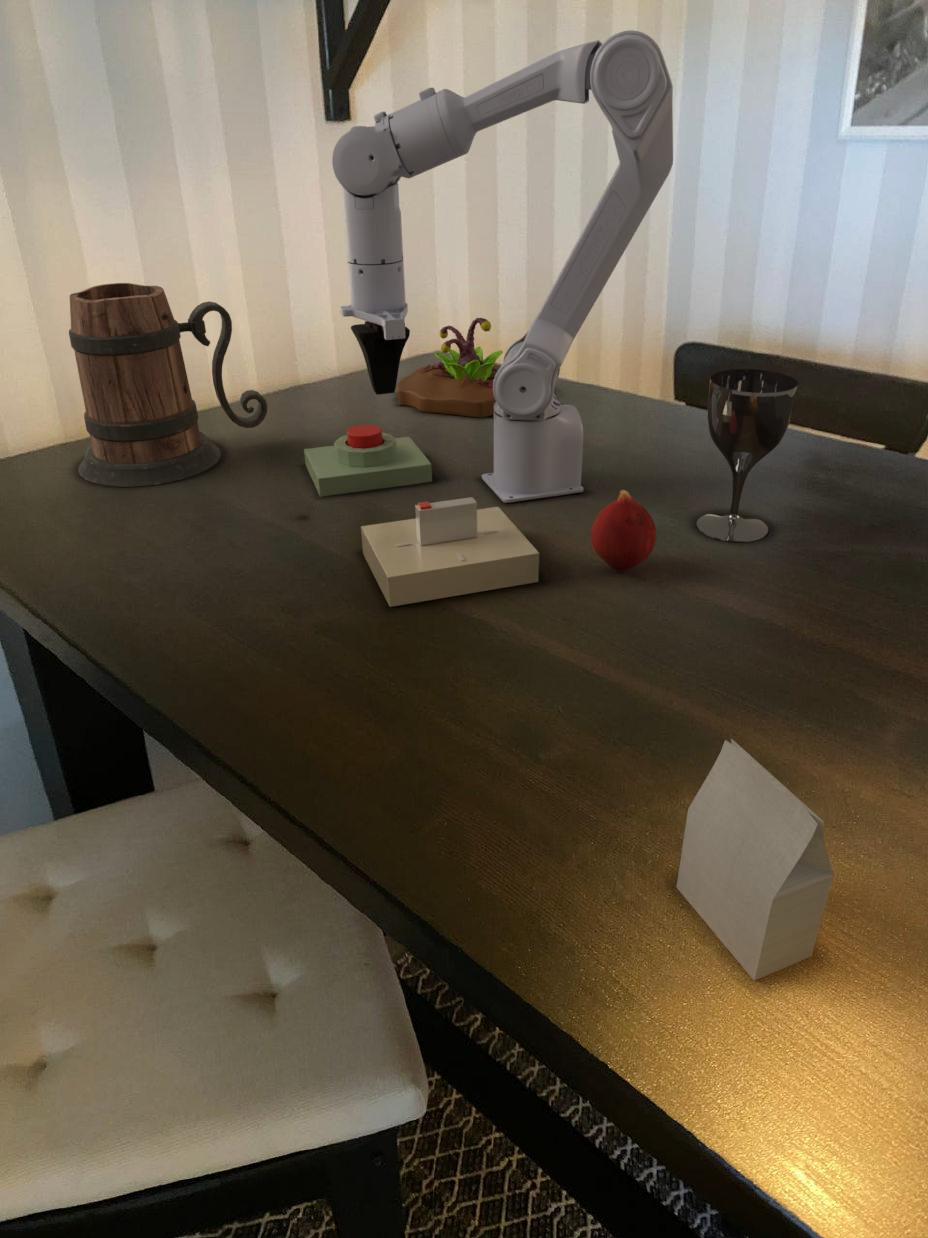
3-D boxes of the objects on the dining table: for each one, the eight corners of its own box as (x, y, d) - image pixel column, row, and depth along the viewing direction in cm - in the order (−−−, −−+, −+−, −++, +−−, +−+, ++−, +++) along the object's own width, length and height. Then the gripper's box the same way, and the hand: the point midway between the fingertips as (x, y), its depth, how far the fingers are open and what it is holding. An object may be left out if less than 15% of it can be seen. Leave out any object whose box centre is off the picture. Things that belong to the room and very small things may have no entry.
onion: (656, 561, 85) (664, 482, 81) (646, 589, 81) (654, 507, 77) (596, 553, 87) (601, 475, 83) (582, 580, 82) (587, 499, 78)
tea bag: (754, 981, 46) (787, 835, 40) (676, 887, 51) (697, 748, 46) (811, 956, 47) (851, 812, 42) (729, 867, 52) (755, 730, 47)
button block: (410, 453, 112) (408, 421, 110) (432, 482, 103) (431, 448, 101) (305, 466, 108) (302, 434, 106) (320, 497, 100) (316, 463, 98)
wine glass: (778, 518, 93) (803, 373, 86) (765, 549, 87) (792, 396, 80) (701, 506, 96) (719, 365, 89) (684, 535, 90) (702, 387, 83)
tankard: (86, 496, 101) (41, 312, 91) (71, 450, 114) (30, 285, 104) (289, 461, 110) (268, 289, 100) (253, 422, 123) (232, 266, 113)
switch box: (472, 531, 85) (472, 494, 83) (477, 537, 84) (477, 499, 82) (416, 539, 83) (414, 502, 81) (420, 546, 82) (419, 508, 80)
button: (378, 437, 106) (377, 422, 105) (386, 448, 103) (385, 433, 102) (345, 441, 105) (343, 426, 104) (351, 452, 102) (350, 437, 101)
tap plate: (498, 533, 91) (498, 504, 90) (538, 582, 82) (539, 551, 81) (362, 554, 88) (360, 524, 86) (389, 607, 79) (387, 575, 77)
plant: (494, 425, 120) (494, 340, 114) (376, 404, 129) (371, 323, 123) (561, 387, 134) (564, 310, 129) (451, 370, 144) (450, 297, 138)
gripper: (324, 252, 97) (336, 378, 104) (350, 275, 85) (362, 415, 92) (388, 248, 99) (395, 372, 105) (422, 269, 87) (428, 407, 94)
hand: (384, 392), depth 99 cm, fingers closed
